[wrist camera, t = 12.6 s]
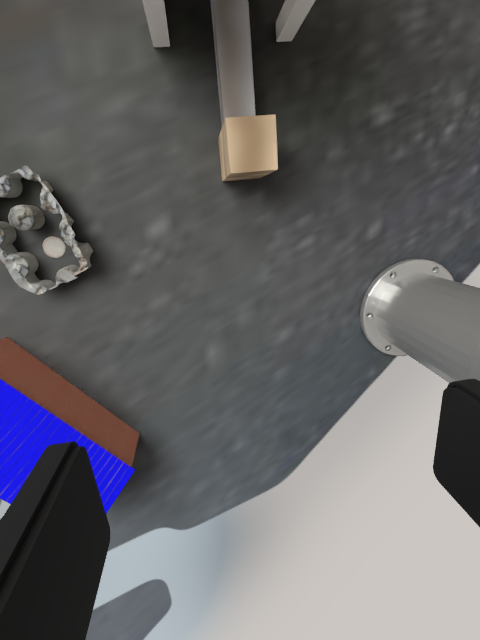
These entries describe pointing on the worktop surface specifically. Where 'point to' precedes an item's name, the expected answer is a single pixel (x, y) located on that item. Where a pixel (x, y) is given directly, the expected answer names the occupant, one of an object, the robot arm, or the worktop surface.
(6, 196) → the egg carton
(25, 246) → the worktop surface
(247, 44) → the push stick
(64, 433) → the house
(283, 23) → the cabinet
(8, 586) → the robot arm
